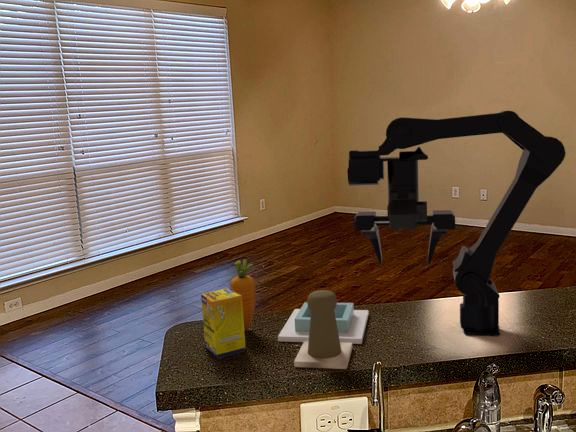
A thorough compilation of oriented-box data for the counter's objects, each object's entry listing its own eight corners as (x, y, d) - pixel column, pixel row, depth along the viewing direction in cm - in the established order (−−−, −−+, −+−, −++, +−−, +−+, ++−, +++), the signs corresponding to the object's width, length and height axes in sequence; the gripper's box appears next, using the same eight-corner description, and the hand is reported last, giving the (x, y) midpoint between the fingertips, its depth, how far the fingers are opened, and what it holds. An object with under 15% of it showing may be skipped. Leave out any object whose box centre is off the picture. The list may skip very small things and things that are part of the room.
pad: (352, 347, 105) (352, 342, 105) (346, 369, 96) (346, 363, 96) (304, 346, 107) (304, 341, 107) (294, 366, 98) (294, 361, 98)
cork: (332, 342, 105) (330, 284, 104) (347, 354, 100) (344, 293, 98) (302, 348, 103) (299, 290, 101) (315, 361, 98) (312, 299, 96)
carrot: (247, 324, 120) (242, 255, 118) (263, 329, 117) (258, 258, 114) (228, 331, 117) (223, 260, 114) (244, 337, 113) (239, 263, 111)
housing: (368, 314, 122) (368, 298, 121) (361, 343, 106) (360, 326, 106) (295, 313, 125) (294, 297, 125) (278, 341, 110) (277, 323, 109)
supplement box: (204, 349, 108) (199, 293, 107) (233, 341, 111) (229, 287, 109) (216, 359, 103) (211, 301, 101) (246, 351, 106) (242, 294, 104)
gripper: (349, 191, 103) (352, 275, 106) (457, 188, 99) (457, 275, 101) (355, 183, 114) (358, 260, 116) (453, 180, 109) (453, 260, 112)
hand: (404, 263), depth 111 cm, fingers open, 9 cm apart
